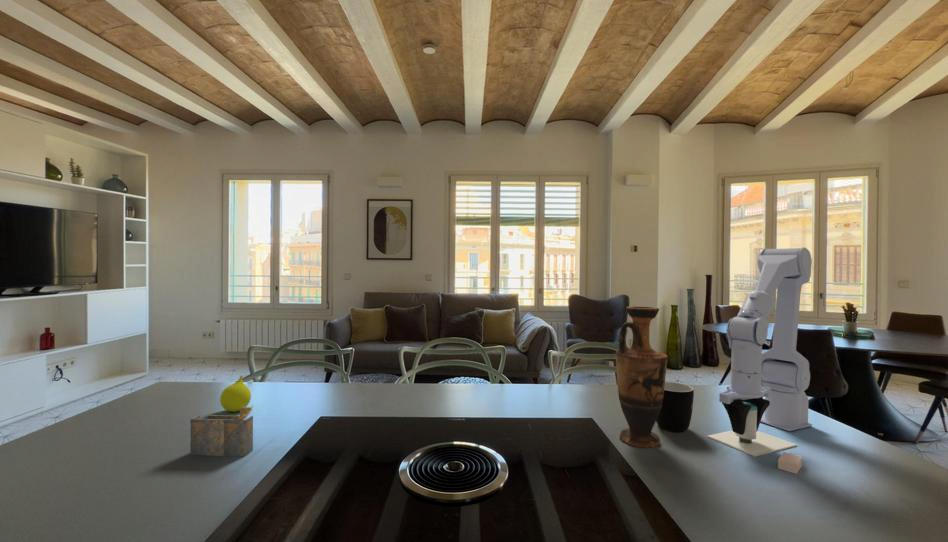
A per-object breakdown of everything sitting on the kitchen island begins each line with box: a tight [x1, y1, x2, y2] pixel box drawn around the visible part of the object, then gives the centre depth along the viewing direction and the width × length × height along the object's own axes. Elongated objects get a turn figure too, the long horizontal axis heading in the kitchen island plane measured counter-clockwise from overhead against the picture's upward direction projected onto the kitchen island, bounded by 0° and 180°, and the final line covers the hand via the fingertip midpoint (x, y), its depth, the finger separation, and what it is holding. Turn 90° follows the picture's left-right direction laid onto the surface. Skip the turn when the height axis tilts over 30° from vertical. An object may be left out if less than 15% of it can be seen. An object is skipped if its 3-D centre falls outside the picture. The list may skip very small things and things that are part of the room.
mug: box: [655, 381, 695, 434], centre depth 105 cm, size 12×9×10 cm
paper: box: [706, 429, 798, 457], centre depth 96 cm, size 14×11×1 cm
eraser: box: [777, 451, 803, 475], centre depth 84 cm, size 5×3×2 cm, turn 134°
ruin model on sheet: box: [189, 405, 254, 457], centre depth 87 cm, size 11×3×10 cm, turn 88°
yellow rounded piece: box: [219, 375, 252, 413], centre depth 112 cm, size 7×7×10 cm
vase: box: [615, 305, 669, 448], centre depth 96 cm, size 11×11×30 cm
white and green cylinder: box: [735, 402, 758, 443], centre depth 95 cm, size 4×4×8 cm
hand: (744, 431), depth 95 cm, fingers closed on white and green cylinder, 4 cm apart
